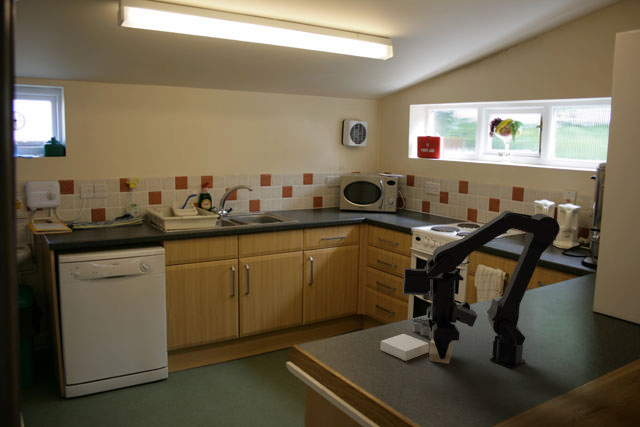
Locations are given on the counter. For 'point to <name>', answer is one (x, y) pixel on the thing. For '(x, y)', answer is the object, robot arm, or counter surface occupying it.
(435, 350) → the cube
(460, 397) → the counter surface
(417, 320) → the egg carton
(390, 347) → the base
